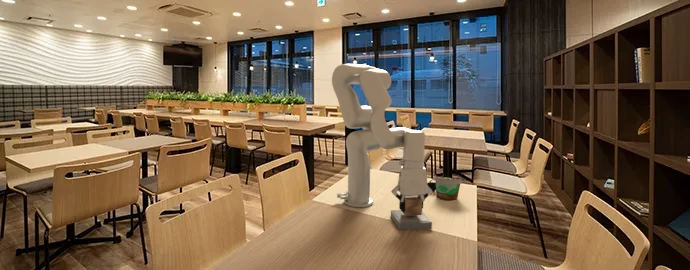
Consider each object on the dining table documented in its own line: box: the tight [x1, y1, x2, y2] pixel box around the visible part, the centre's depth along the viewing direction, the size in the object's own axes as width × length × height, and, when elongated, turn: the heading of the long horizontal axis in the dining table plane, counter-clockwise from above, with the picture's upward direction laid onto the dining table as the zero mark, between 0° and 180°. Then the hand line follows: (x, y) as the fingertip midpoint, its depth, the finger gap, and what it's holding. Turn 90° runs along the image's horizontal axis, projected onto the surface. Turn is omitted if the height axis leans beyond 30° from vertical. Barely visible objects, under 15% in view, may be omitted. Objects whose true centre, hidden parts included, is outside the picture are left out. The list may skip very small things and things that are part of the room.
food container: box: [433, 174, 463, 202], centre depth 147 cm, size 12×6×10 cm, turn 62°
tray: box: [390, 209, 433, 231], centre depth 123 cm, size 12×12×3 cm
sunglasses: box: [427, 178, 436, 193], centre depth 166 cm, size 14×16×5 cm
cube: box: [403, 195, 423, 216], centre depth 122 cm, size 6×6×6 cm
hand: (411, 210), depth 123 cm, fingers closed on cube, 6 cm apart
